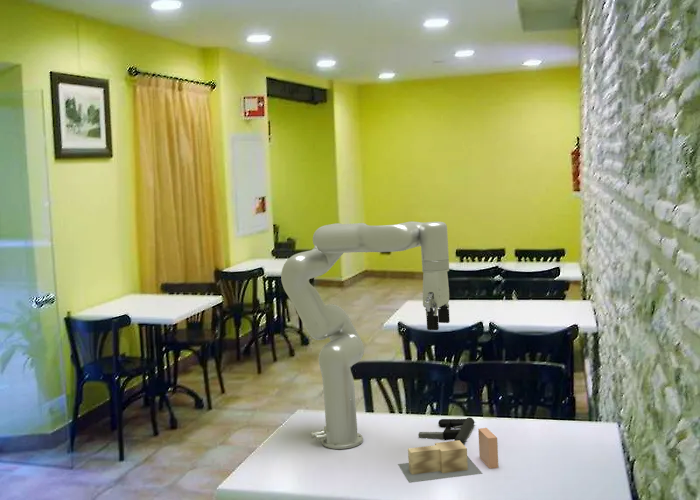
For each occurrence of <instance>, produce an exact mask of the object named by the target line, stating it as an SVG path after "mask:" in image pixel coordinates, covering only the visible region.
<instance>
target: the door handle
mask: <svg viewBox="0 0 700 500" xmlns="http://www.w3.org/2000/svg"><path fill="white" fill-rule="evenodd" d="M475 423H476V421H475V419H473V417H467V418H441V419H439V420H438V423H437V424H438V426H439V427H440V428H444V430H443V431H419V432H418V434H417V435H418V439H426V438H427V439H429V440H443V441H457V440H460V441H461V442H462V444H463V445H464V446H465V443H466V442H468V441H467V439H469V438H470V435H471V434H472V431H473V430H472V429H473V428H474V427H475V426H476V424H475ZM451 427H452V428H451Z"/></svg>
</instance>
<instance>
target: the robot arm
mask: <svg viewBox="0 0 700 500" xmlns="http://www.w3.org/2000/svg"><path fill="white" fill-rule="evenodd" d="M448 236H449V235H448V225H447V224H446V222H443V221H427V222H423V221H421V222H419V221H407V222H400V223H398V224H396V223H395V224H387V225H386V224H385V225H368V224H366V222H358V223H340V222H339V223H338V222H336V223H332V224H330V223H329V224H325V225H322V226H320V227H318V228H317V229H315V231H314V233H313V236H312V245H314V247H313V248H312V249H311V250H306V251H301V252H298V253H295V254H292V255H291V256H290V257H289V258H288V259H287V260H286V261H285V262H284V264H283V266H282V269H281V273H280V274H281V275H280V277H281V278H280V279H281V281H280V282H281V284H282V287H283V290H284V291H285V293H286V295H287V296H288V299H289V300H290V301H291V303H292V305H293V307H294V309H295V311H296V313H297V314H298V316H299V318H300V320H301V322H302V323H303V326H304V328H305V329H306V332H307V333H308V335H309V336H310V337H311V339H314V340H315V341H323V340H326V339H329V340H330V341H329V342H327V343H326V344H325V345H324V346H323V347H322V348H321V349H320V351H319V354H318V365H319V369H320V373H321V379H322V380H321V381H322V390H323V401H324V417H325V419H324V420H325V426H323V429H321V430H318V431H316V430H315V431H311V432H310V435H311V439H315V438H316V440H321V444H322V445H323V446H324V447H325V448H329V449H333V450H334V449H335V450H344V449H351V448H355V447H358V446H359V445H361V444H362V443H363V442H364V437H363V435H362V434H360V433H359V432H358V422H357V421H358V419H357V404H356V402H357V401H356V390H355V387H356V386H355V380H354V376H353V373H352V369H351V367H352V366H354V365H356V364H358V362H360V361H361V360H362V358H363V356H364V352H365V346H364V343H363V341H362V339H361V336H360V335H359V333H358V330H357V329H356V327H355V325H354V324H353V322H352V320H351V318H350V317H349V315H348V313H347V312H346V311H345V309H343V308H342V307H341V306H340V305H337V304H332V303H330V304H326V303H325V301H324V300H323V299H322V296H321V295H320V293H319V291H318V290H317V288H315V287H314V286H313V285H312V284H311V283H310V279H311V280H312V279H314V278H317V277H321V276H323V275H324V274H326V273H328V272H329V270H331V268H332V267H333V266H335V263H336V262H337V261H338V260H339V259H341V256H343V255H344V254H345V253H348V254H349V253H389V252H393V253H394V252H405V251H407V250H410V249H413V248H418V247H420V252H421V268H422V269H421V271H422V273H423V276H422V307H424V308H425V310H424V311H425V316H426V329H427V331H438V330H439V328H440V327H439V324H440V323H441V324H449V323H450V321H451V320H450V304H449V302H450V287H449V276H448V275H449V274H448V272H449V271H450V258H449V257H450V256H449V237H448Z"/></svg>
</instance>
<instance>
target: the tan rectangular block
mask: <svg viewBox="0 0 700 500" xmlns="http://www.w3.org/2000/svg"><path fill="white" fill-rule="evenodd" d="M498 444H499V443H498V437H497V435H495V434H494V433H493V432H492V431H491V430H489V428H488V427H481V428H478V449H479V451H478V452H479V459H480V460H481V461H482V462H483V463H484V464H485V466H487V468H489V469H490V470H491V469H497V468H499V450H498V449H499V448H498V446H499V445H498Z"/></svg>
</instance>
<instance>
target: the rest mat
mask: <svg viewBox="0 0 700 500" xmlns="http://www.w3.org/2000/svg"><path fill="white" fill-rule="evenodd" d="M467 463H468V470H464V471H456V472H448V473H442V472H441V471H436V472H428V473H420V474H411V472H410V471H409V462H403V463H398V464H397V465H398V467H399V468H400V470H401V473H402V474H403V475H404V477H405V479H406V480H407V482H408V483H411V484H412V483H419V482H426V481H427V482H428V481H434V480H435V481H436V480H441V479H450V478H451V479H452V478H457V477H458V478H459V477H465V476H466V477H467V476H475V475H482V474H483V471H481V470H480V469H479V468H478V466H477V465H476V464H475V463H474V462H473V460H471V458H470V457H469V456H468V455H467Z"/></svg>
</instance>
